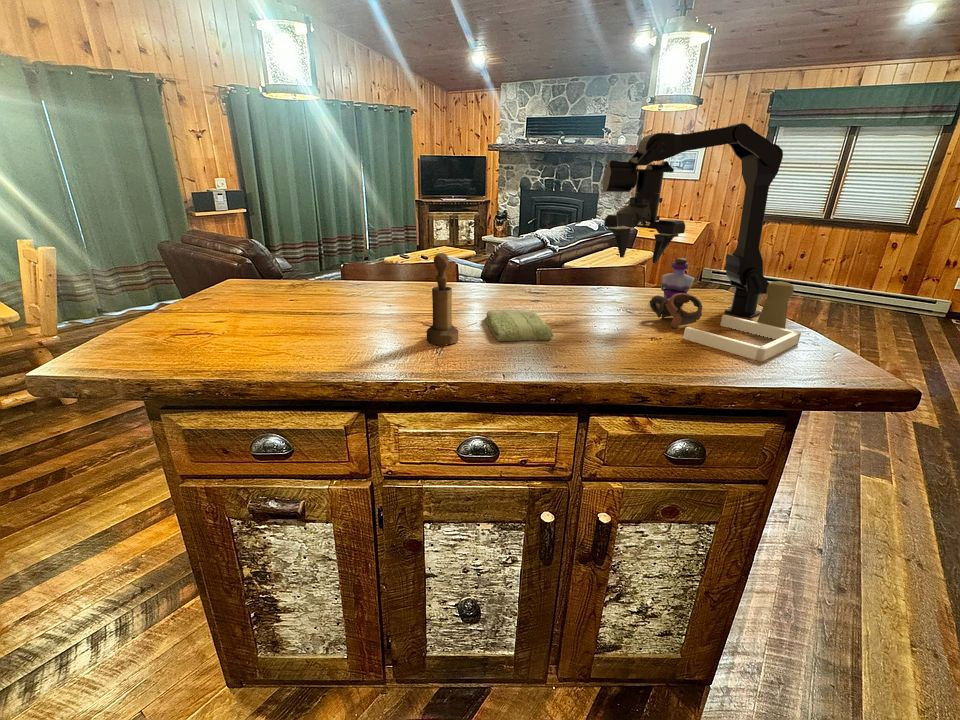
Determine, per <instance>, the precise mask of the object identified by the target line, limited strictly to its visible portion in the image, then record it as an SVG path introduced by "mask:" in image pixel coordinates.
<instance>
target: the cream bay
mask: <svg viewBox="0 0 960 720" xmlns="http://www.w3.org/2000/svg"><path fill="white" fill-rule="evenodd" d="M720 327H725V328H728V327H729V328H728V329H731V328H732V329H731V330H735V329H736V331H739V330H740V332H743V331H744V333H747V332H749V333H748V334H751V333H752V334H751V335H755V334H757V335H756V336H759V335H760V337H763V336H764V337H763V338H767V337H768V338H767V339H770V338H772V340H773V341H772V340H771V341H770V342H768V343H766V344H763V345H761V346H760V345H756V344H752V343H749V342H745V341H741V340H738V339H734V338H731V337H727V336H724V335H720V334H715V333H712V332H709V331H704V330H701V329H697V328H694V327H690V326H686V327H685V328H684V333H683V340H686V341H690V342H693V343H696V344H700V345H703V346H707V347H709V348H714V349H716V350H721V351H724V352H727V353H731V354H733V355H737V356H741V357H744V358H747V359H750V360H754V361H758V362H761V363H762V362H764V361H766V360H767V359H768V360H769V359H770V358H772V357H774V356H776V355H779V354H780V353H782V352H785V351H786V350H788V349H790V348H792V346H793V347H795V346H796V344H797V345H799V342H800V339H801V335H802V333H801V332H799V331H796V330H790V329H787V328H785V329H783V328H779V327H775V326H771V325H766V324H762V323H758V322H757V321H754V320H753V321H752V320H748V319H745V318H741V317H737V316H732V315H728V314H723V315H721V320H720ZM774 339H776V340H774ZM794 345H795V346H794Z"/></svg>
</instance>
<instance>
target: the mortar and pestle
mask: <svg viewBox="0 0 960 720" xmlns="http://www.w3.org/2000/svg"><path fill="white" fill-rule="evenodd" d="M449 263H450V259H449V257H448V255H447V254H446V253H443V252H442V253H441V252H440V253H436V254H435V255H434V257H433V264H434V266H435V268H436V269H437V275H436V276H435V279H436V283H437V286H433V287H432V288H431V295H432V297H431V298H432V325H430V326H429V327H428V328H427V329H426V342H427V341H428V342H429V344H430V343H432V344H431V345H435V344H437V345H436V346H449V345H448V344H452V345H454V344H453V343H455V344H456V342H457V341H458V342H459V330H458V329H457V328H456V327H455V326H454V325H453V322H452V321H453V315H452V313H453V312H452V311H453V308H452V305H453V304H452V303H453V301H452V299H453V298H452V297H453V296H452V295H453V291H452V290H453V289H452V287H450V286H447V283H448V276H447V273H446V270H447V268H448V266H449ZM428 342H427V343H428ZM458 342H457V343H458ZM446 344H447V345H446Z"/></svg>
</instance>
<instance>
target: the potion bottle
mask: <svg viewBox="0 0 960 720" xmlns="http://www.w3.org/2000/svg"><path fill="white" fill-rule="evenodd" d="M674 259H675V260H674V261H673V262H672V263H671V269H673V272H671V273H665V274H663V275H662V276H661V283H660V289H661V291H662V292H663V297H664V298H666V299H669V298H671V297H672V296H673V295H674V294H677V293H686V294H688V292H689V290H690V289H691V287H692V285H693V283H694V280H695V277H693V276H691V275H689V274H685V271H686V270H688V269H689V267H690V266H689V265H690V263H688V259H687V258H685V257H676V258H674Z"/></svg>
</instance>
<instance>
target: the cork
mask: <svg viewBox="0 0 960 720" xmlns="http://www.w3.org/2000/svg"><path fill="white" fill-rule="evenodd" d="M794 289H795V287H794V285H793V284H792V283H790V282H787V281H781V280H779V281H778V280H776V281H771V282H770V283H769V285H768V287H767V293H766V294H767V296H766V300H765V302H764V305H763V306H762V310H761V311H760V312H761V314H759V317H758V318H757V321H756V322H758V323H762V324H766V325H771V326H775V327H779V328H783V329H786V324H787V316H788V307H789V298H790V297H792V295H793V294H794V291H795V290H794Z"/></svg>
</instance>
